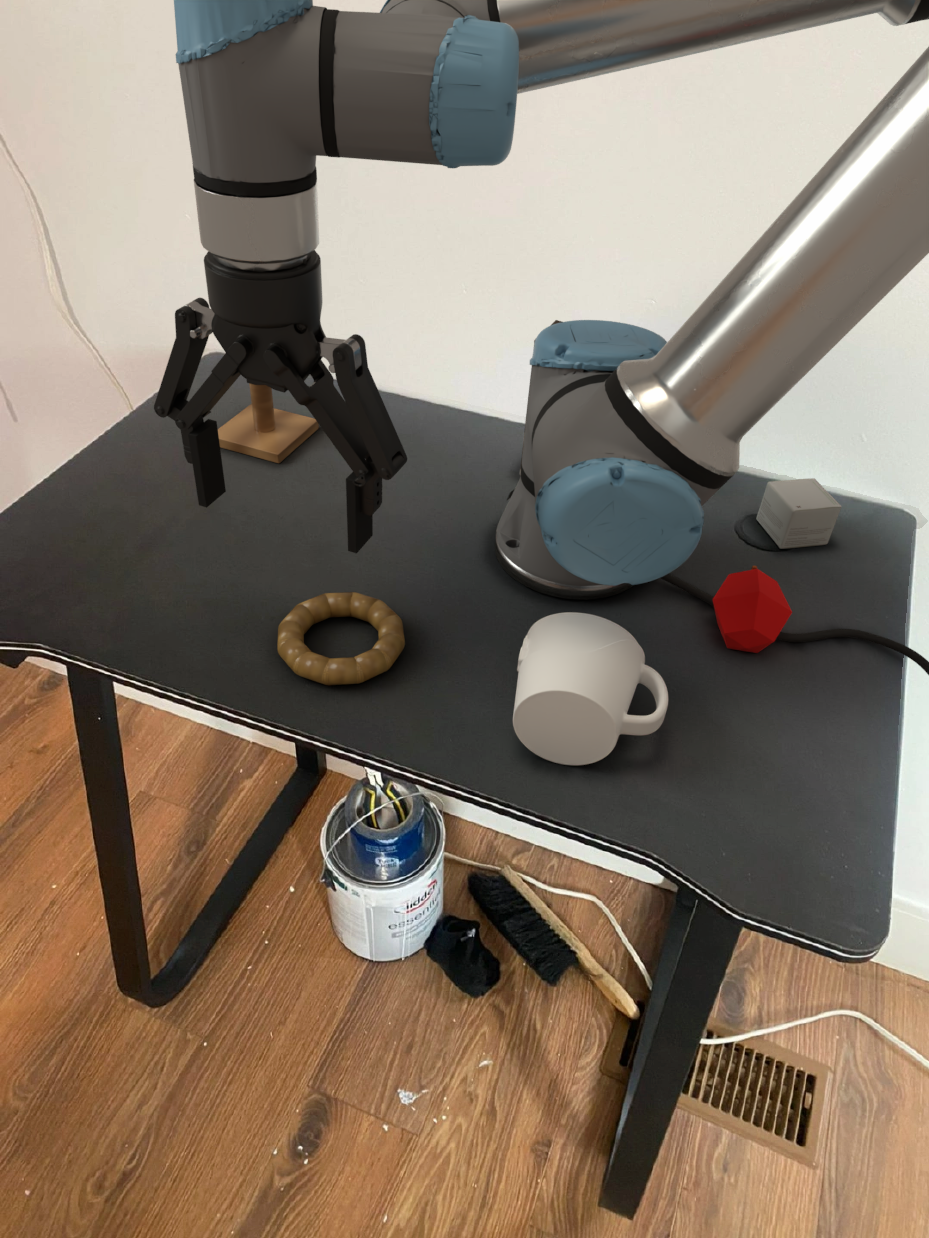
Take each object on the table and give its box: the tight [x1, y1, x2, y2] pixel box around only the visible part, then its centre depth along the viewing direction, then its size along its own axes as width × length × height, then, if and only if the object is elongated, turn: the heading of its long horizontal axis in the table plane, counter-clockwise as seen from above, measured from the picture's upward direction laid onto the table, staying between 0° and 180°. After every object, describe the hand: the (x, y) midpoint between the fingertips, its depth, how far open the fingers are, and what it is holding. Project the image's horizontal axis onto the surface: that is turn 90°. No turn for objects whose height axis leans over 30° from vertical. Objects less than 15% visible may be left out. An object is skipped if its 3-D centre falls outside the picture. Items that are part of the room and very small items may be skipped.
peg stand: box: [218, 383, 320, 464], centre depth 102 cm, size 9×9×15 cm
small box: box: [755, 477, 843, 549], centre depth 95 cm, size 6×6×5 cm
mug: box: [512, 611, 669, 766], centre depth 72 cm, size 12×9×8 cm
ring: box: [276, 591, 406, 686], centre depth 79 cm, size 11×11×2 cm
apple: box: [712, 565, 793, 654], centre depth 82 cm, size 7×7×8 cm
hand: (284, 520), depth 74 cm, fingers open, 13 cm apart
